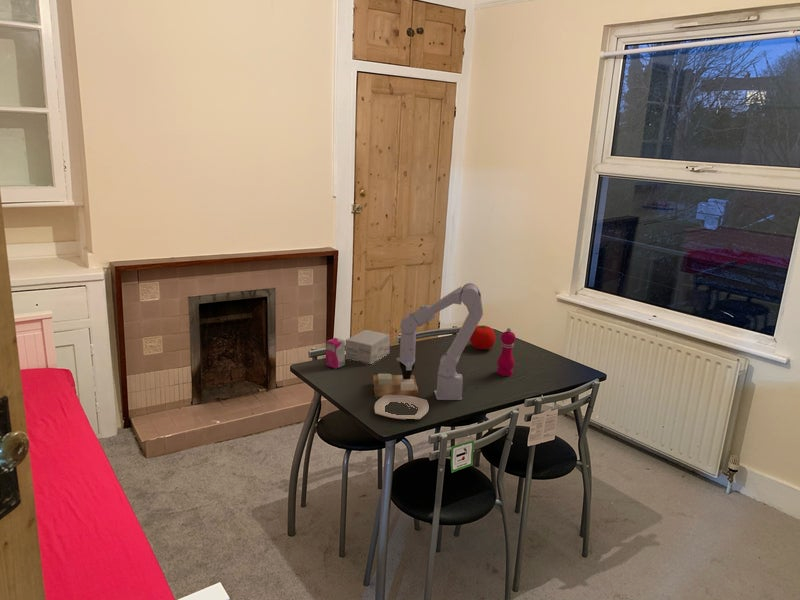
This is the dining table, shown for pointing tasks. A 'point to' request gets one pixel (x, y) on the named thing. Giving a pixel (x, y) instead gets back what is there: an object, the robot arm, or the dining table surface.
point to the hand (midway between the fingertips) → (406, 381)
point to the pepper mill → (506, 354)
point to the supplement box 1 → (335, 353)
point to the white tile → (406, 384)
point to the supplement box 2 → (367, 346)
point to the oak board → (393, 387)
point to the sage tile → (384, 379)
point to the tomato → (483, 337)
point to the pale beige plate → (418, 402)
